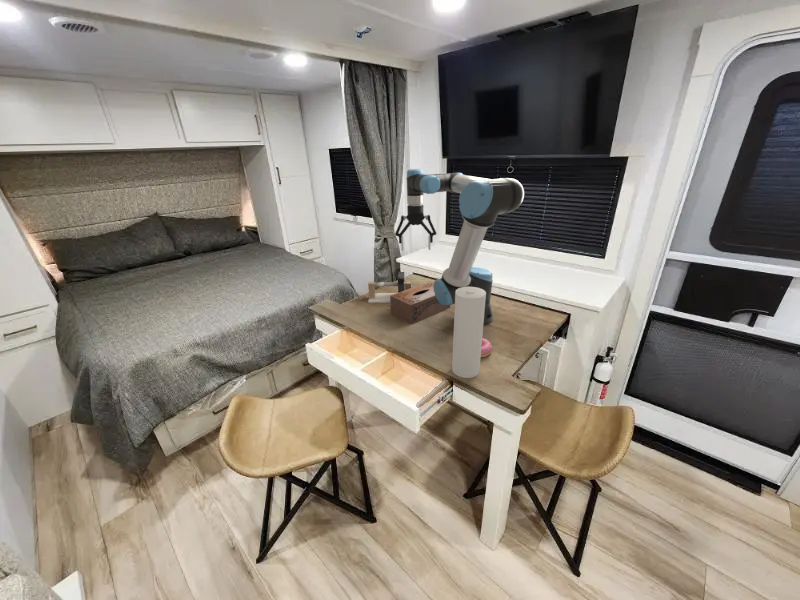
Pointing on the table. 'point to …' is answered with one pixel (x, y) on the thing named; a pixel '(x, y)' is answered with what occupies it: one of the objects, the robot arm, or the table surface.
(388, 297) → the rail stand
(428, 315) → the tissue box cover
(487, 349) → the doughnut
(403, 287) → the collar
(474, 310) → the cylinder container
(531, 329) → the table surface
